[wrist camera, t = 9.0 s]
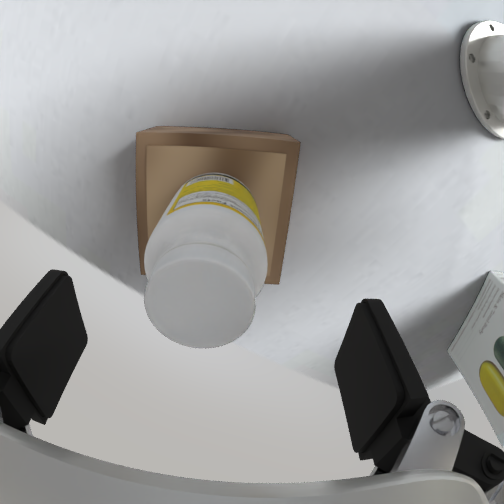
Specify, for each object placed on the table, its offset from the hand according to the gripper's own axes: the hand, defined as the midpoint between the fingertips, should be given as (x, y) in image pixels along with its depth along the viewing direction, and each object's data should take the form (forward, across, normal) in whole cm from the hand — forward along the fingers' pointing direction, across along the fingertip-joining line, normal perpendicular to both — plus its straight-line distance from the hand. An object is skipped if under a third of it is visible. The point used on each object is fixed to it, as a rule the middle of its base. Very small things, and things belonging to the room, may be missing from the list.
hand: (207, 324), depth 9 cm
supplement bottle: (+11, +1, +1) cm, 11 cm away
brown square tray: (+16, +1, +1) cm, 16 cm away
